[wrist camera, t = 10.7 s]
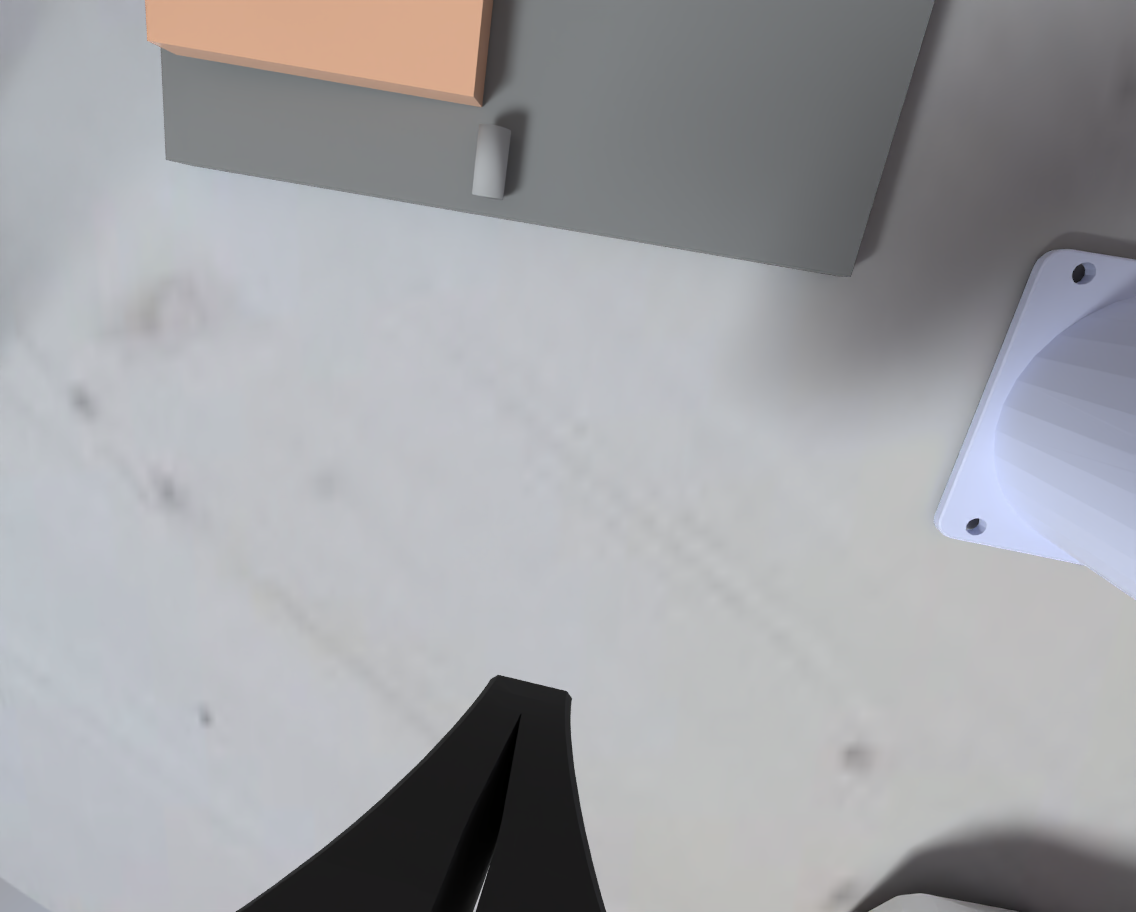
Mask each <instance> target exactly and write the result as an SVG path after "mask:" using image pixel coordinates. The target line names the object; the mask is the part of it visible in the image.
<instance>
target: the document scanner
mask: <svg viewBox="0 0 1136 912" xmlns="http://www.w3.org/2000/svg"><path fill="white" fill-rule="evenodd" d="M868 912H1019V911H1013V910H1008V909H1003V908H997V907H992V906H987V905H981V904H976V903H971V902H965V901H960V900H955V899H949V898H944V897H939V896H933V895H929V894H923V893H917V894H908V895H900V896H896V897H894V898H892V899H890V900H889V901H887V902H885V903H883V904H881V905H879V906H878V907H876V908H874V909H872V910H870V911H868Z"/></svg>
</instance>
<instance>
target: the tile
mask: <svg viewBox="0 0 1136 912" xmlns="http://www.w3.org/2000/svg"><path fill="white" fill-rule="evenodd" d="M145 6H146V25H147V41H149V42H151V43H153V44H155V45H157V46H159V47H161V48H163V49H165V50H167V51H170V52H172V53H174V54H176V55H181V56H186V57H192V58H198V59H204V60H210V61H215V62H221V63H227V64H233V65H239V66H245V67H250V68H256V69H262V70H268V71H274V72H279V73H285V74H291V75H297V76H303V77H308V78H314V79H320V80H326V81H332V82H337V83H343V84H349V85H355V86H361V87H367V88H372V89H378V90H384V91H390V92H396V93H401V94H407V95H413V96H419V97H425V98H430V99H436V100H442V101H448V102H454V103H460V104H465V105H471V106H477V107H482V103H483V94H484V84H485V75H486V65H487V56H488V46H489V37H490V27H491V18H492V8H493V0H145Z"/></svg>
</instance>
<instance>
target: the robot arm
mask: <svg viewBox="0 0 1136 912" xmlns="http://www.w3.org/2000/svg"><path fill="white" fill-rule="evenodd" d="M1080 264H1082V265H1083V266H1084V268H1085V275H1084V277H1083V278H1082V279H1081V281H1079V282H1077V283H1075V282H1074V281H1073V279H1072V273H1073V270H1074V269H1075V268H1076V266H1078V265H1080ZM975 518H979V524H978V525H977V526H976V527H975V528H973V529H969V530H966V525H967V524H968V522H969V521H970V520H972V519H975ZM934 523H935V526H936V528H937V529H938V530H939V531H940V532H941V533H942V534H944V535H945V536H947V537H950V538H953V539H958V540H963V541H968V542H973V543H978V544H982V545H987V546H992V547H997V548H1002V549H1007V550H1012V551H1017V552H1021V553H1026V554H1031V555H1036V556H1041V557H1046V558H1051V559H1056V560H1060V561H1065V562H1070V563H1075V564H1080V565H1085V566H1087V567H1088V568H1090V569H1091V570H1092V571H1094V572H1095V573H1097V574H1098V575H1100V576H1101V577H1103V578H1104V579H1106V580H1107V581H1109V582H1110V583H1111V584H1113V585H1114V586H1116V587H1117V588H1119V589H1120V590H1122V591H1123V592H1125V593H1126V594H1128V595H1129V596H1130V597H1132V598H1133V599H1135V600H1136V260H1135V259H1129V258H1123V257H1116V256H1110V255H1104V254H1098V253H1092V252H1085V251H1079V250H1073V249H1059V250H1052V251H1050V252H1047V253H1045V254H1044V255H1043V256H1041V257H1040V258H1039V259H1038V260H1037V262H1036V263H1035V265H1034V267H1033V269H1032V272H1031V274H1030V277H1029V279H1028V282H1027V284H1026V287H1025V289H1024V292H1023V294H1022V297H1021V299H1020V302H1019V304H1018V307H1017V309H1016V312H1015V314H1014V317H1013V319H1012V322H1011V324H1010V327H1009V329H1008V332H1007V334H1006V337H1005V340H1004V342H1003V345H1002V347H1001V350H1000V352H999V355H998V357H997V360H996V362H995V365H994V367H993V370H992V372H991V375H990V377H989V380H988V382H987V385H986V387H985V390H984V392H983V395H982V397H981V400H980V402H979V405H978V407H977V410H976V412H975V415H974V417H973V420H972V422H971V425H970V427H969V430H968V433H967V435H966V438H965V440H964V443H963V445H962V448H961V450H960V453H959V455H958V458H957V460H956V463H955V465H954V468H953V470H952V473H951V475H950V478H949V480H948V483H947V485H946V488H945V490H944V493H943V495H942V498H941V500H940V503H939V505H938V508H937V510H936V513H935V516H934ZM571 701H572V698H571V697H570V695H569V694H568V692H567V691H564V690H559V689H555V688H551V687H547V686H543V685H538V684H534V683H530V682H526V681H522V680H518V679H513V678H509V677H505V676H501V675H497V676H496V677H494V678H492V679H491V680H490V681H489V683H488V684H487V686H486V687H485V689H484V690H483V691H482V693H481V694H480V695H479V697H478V698H477V699H476V700H475V702H474V703H473V704H472V705H471V707H470V708H469V709H468V710H467V711H466V713H465V714H464V715H463V716H462V717H461V718H460V720H459V721H458V722H457V723H456V724H455V725H454V726H453V728H452V729H451V730H450V731H449V732H448V733H447V734H446V735H445V736H444V737H443V738H442V739H441V740H440V742H439V743H438V744H437V745H436V746H435V747H434V748H433V749H432V750H431V751H430V752H429V753H428V754H427V755H426V756H425V757H424V759H423V760H422V761H421V762H420V763H419V764H418V765H417V766H416V767H414V768H413V769H412V770H411V771H410V772H409V773H408V774H407V775H406V776H405V777H404V778H403V779H402V780H401V781H400V782H399V783H398V784H397V785H396V786H394V787H393V788H392V789H391V790H390V791H389V792H388V793H387V794H386V795H385V796H384V797H383V798H382V799H381V800H380V801H379V802H377V803H376V804H375V805H374V806H373V807H372V808H371V809H370V810H368V811H367V812H366V813H365V814H364V815H363V816H362V817H360V818H359V819H358V820H357V821H356V822H354V823H353V824H352V825H351V826H350V827H349V828H347V829H346V830H345V831H344V832H342V833H341V834H340V835H339V836H338V837H336V838H335V839H334V840H333V841H331V842H330V843H329V844H328V845H326V846H325V847H324V848H323V849H321V850H320V851H319V852H318V853H316V854H315V855H314V856H312V857H311V858H310V859H308V860H307V861H306V862H304V863H303V864H302V865H300V866H299V867H298V868H296V869H295V870H294V871H292V872H291V873H290V874H288V875H287V876H286V877H284V878H283V879H282V880H280V881H279V882H278V883H276V884H275V885H274V886H272V887H271V888H269V889H268V890H267V891H265V892H264V893H262V894H261V895H259V896H258V897H257V898H255V899H254V900H252V901H251V902H249V903H248V904H247V905H245V906H244V907H242V908H241V909H239V910H238V911H236V912H473V910H474V907H475V904H476V902H477V899H478V896H479V893H480V891H481V888H482V885H483V882H484V879H485V877H486V880H485V883H484V886H483V890H482V893H481V896H480V899H479V903H478V906H477V909H476V912H606V910H605V906H604V903H603V900H602V896H601V892H600V889H599V885H598V881H597V878H596V874H595V870H594V866H593V862H592V858H591V853H590V849H589V845H588V840H587V836H586V832H585V827H584V822H583V817H582V812H581V807H580V801H579V795H578V789H577V783H576V777H575V770H574V762H573V753H572V742H571V727H570V714H571ZM488 868H489V870H488ZM487 871H488V873H487ZM486 874H487V876H486Z"/></svg>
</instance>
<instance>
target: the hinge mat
mask: <svg viewBox="0 0 1136 912" xmlns="http://www.w3.org/2000/svg"><path fill="white" fill-rule="evenodd" d="M934 2H935V0H493V8H492V18H491V27H490V37H489V46H488V56H487V65H486V75H485V84H484V94H483V103H482V107H477V106H471V105H465V104H460V103H454V102H448V101H442V100H436V99H430V98H425V97H419V96H413V95H407V94H401V93H396V92H390V91H384V90H378V89H372V88H367V87H361V86H355V85H349V84H343V83H337V82H332V81H326V80H320V79H314V78H308V77H303V76H297V75H291V74H285V73H279V72H274V71H268V70H262V69H256V68H250V67H245V66H239V65H233V64H227V63H221V62H215V61H210V60H204V59H198V58H192V57H186V56H181V55H176V54H174V53H172V52H170V51H167V50H165V49H163V48H161V64H162V86H163V107H164V129H165V150H166V160H170V161H174V162H178V163H183V164H187V165H191V166H197V167H203V168H209V169H214V170H220V171H226V172H232V173H238V174H244V175H249V176H255V177H261V178H267V179H273V180H279V181H285V182H290V183H296V184H302V185H308V186H314V187H320V188H325V189H331V190H337V191H343V192H349V193H355V194H361V195H366V196H372V197H378V198H384V199H390V200H396V201H401V202H407V203H413V204H419V205H425V206H431V207H437V208H442V209H448V210H454V211H460V212H466V213H472V214H477V215H483V216H489V217H495V218H501V219H507V220H513V221H518V222H524V223H530V224H536V225H542V226H548V227H553V228H559V229H565V230H571V231H577V232H583V233H589V234H594V235H600V236H606V237H612V238H618V239H624V240H629V241H635V242H641V243H647V244H653V245H659V246H665V247H670V248H676V249H682V250H688V251H694V252H700V253H705V254H711V255H717V256H723V257H729V258H735V259H740V260H746V261H752V262H758V263H764V264H770V265H776V266H781V267H787V268H793V269H799V270H805V271H811V272H816V273H822V274H828V275H834V276H845V277H851V274H852V271H853V267H854V264H855V261H856V258H857V254H858V251H859V248H860V244H861V241H862V238H863V235H864V231H865V228H866V225H867V222H868V218H869V215H870V212H871V208H872V205H873V202H874V199H875V195H876V192H877V189H878V186H879V182H880V179H881V176H882V172H883V169H884V166H885V163H886V159H887V156H888V153H889V149H890V146H891V143H892V140H893V136H894V133H895V130H896V127H897V123H898V120H899V117H900V113H901V110H902V107H903V104H904V100H905V97H906V94H907V90H908V87H909V84H910V81H911V77H912V74H913V71H914V68H915V64H916V61H917V58H918V54H919V51H920V48H921V45H922V41H923V38H924V35H925V32H926V28H927V25H928V22H929V18H930V15H931V12H932V9H933V5H934Z"/></svg>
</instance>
